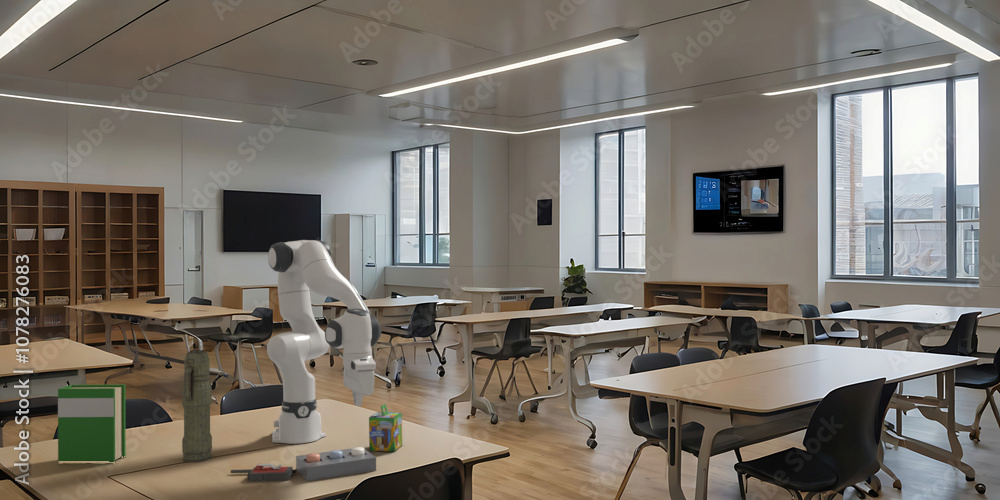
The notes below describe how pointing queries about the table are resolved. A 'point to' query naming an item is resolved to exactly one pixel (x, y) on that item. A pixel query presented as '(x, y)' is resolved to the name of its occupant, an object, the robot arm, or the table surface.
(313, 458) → the orange egg
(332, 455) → the pale blue egg shape
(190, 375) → the thermos
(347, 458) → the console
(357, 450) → the white ellipsoid
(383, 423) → the chalk box
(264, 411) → the table surface
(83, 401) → the hardback book
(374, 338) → the robot arm
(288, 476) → the walkie-talkie
